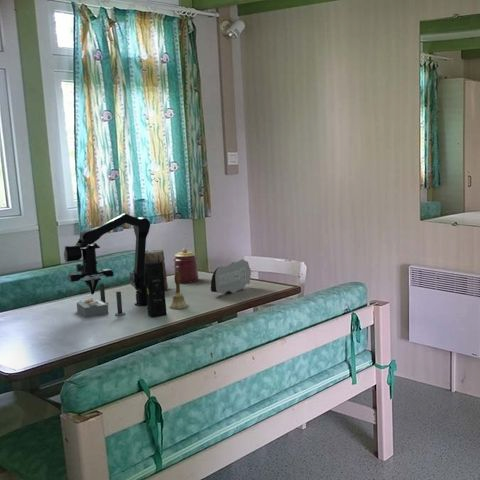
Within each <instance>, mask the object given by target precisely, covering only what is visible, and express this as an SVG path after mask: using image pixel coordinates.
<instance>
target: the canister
mask: <svg viewBox="0 0 480 480" xmlns="http://www.w3.org/2000/svg"><path fill="white" fill-rule="evenodd" d="M174 257H175V258H173V259H172V261H173V262H174V263H173V264H174V265H173V270H174V271H173V272H174V275H175V273H176V271H179V274H180V282H187V283H191V282H190V281H194V282H196V281H195V280H197V279H198V280H199V270H198V262H197V260H198V257H197V256H196V253H194V252H193V251H188V249H187V248H182V251H179V252H176V254H174ZM174 279H175V276H174ZM198 280H197V281H198Z"/></svg>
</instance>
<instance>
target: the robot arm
mask: <svg viewBox="0 0 480 480" xmlns="http://www.w3.org/2000/svg"><path fill="white" fill-rule="evenodd" d="M125 224H127V225H130V226H133V231H134V235H135V252H134V268H133V270H132V271H130V272H129V280H128V281H129V282H130V285H131V287H134V289H135V300H136V301H135V302H136V303H134V305H135V306H144V307H145V306H146V307H147V294H146V286H145V285H144V272H145V269H144V263H145V252H146V249H147V248H146V247H147V246H146V245H147V237H148V235H149V232H150V228H151V222H150V220H149V219H148V218H145V217H136V216H133V215H129V214H128V213H121V214H119V215H118V216H117V217H114V218H112V219H111V220H109V221H107V222H104V223H103V224H100V225H99V226H96V227H93V228H88V229H85V230H83V231H81V232H80V234H79V239H78V241H77V242H76V244H75V245H65V246H64V252H63V258H64V261H65V263H70V262H79V261H80V260H81V259H82V264H80V263H79V264H78V263H77V264H76V265H75V267H76V272H73V273H68V275H67V280H68V281H70V282H71V283H73V282H74V283H75V282H80V280H81V281H83V283H85V284H86V286H87V288H88V290H89V292H90V294H91V295H94V294H95V291H96V287H97V285H98V283H99V281H101V280H102V279H101V277H102V276H105V277H106V278H110V277H114V270H112V269H110V268H103V269H101V270H100V271H98V266H97V265H98V262H97V252H96V250H97V249H100V248H101V246H100V245H98V244H97V243H96V242H97V241H98V240H99V239H100V238H101V237H102V236H104V235H105V234H107V233H109V232H111V231H114V230H115V229H117V228H119V227H121V226H123V225H125Z"/></svg>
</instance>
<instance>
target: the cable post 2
mask: <svg viewBox="0 0 480 480" xmlns="http://www.w3.org/2000/svg"><path fill="white" fill-rule="evenodd" d="M115 296H116V308H117V312H116V313H114V316H116V317H122V316H123V317H124V316H126V312H124V311H123V301H122V292H121V291H119V290H118V291H116V292H115Z"/></svg>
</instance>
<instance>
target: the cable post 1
mask: <svg viewBox="0 0 480 480" xmlns="http://www.w3.org/2000/svg"><path fill="white" fill-rule="evenodd" d="M99 292H100V293H99V294H100V300H101V301H103V302H104V303H106V304H108V305H109V302H107V301H106V292H105V283H104V282H100V283H99Z"/></svg>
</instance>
